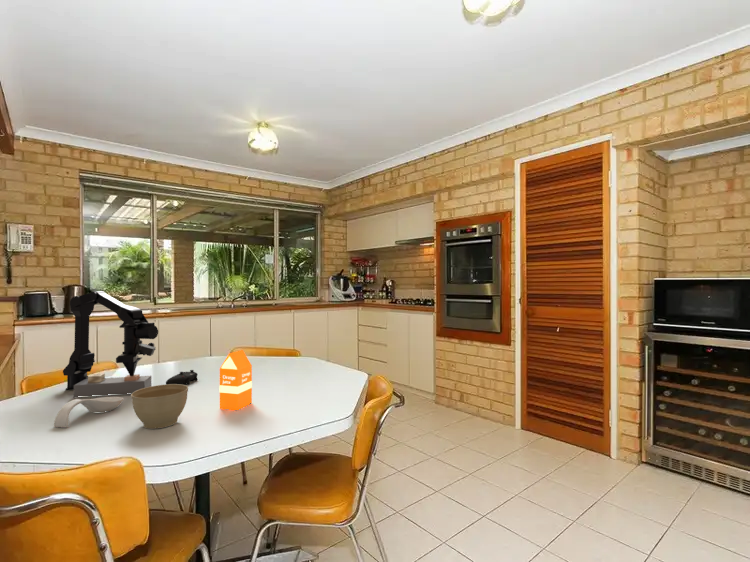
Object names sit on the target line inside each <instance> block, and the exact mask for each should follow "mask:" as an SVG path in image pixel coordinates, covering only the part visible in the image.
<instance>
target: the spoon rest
mask: <svg viewBox="0 0 750 562" xmlns="http://www.w3.org/2000/svg"><path fill="white" fill-rule="evenodd" d="M123 401H124V397H122V396H102V397H97V398H95V397H94V398H91V399H90V398H86V399H80V398H73V399H72V400H70V401H68V402H66V403H65V404H64V405H63V406H62V407H61V408H60V409H59V411H58V413H57V415H56V416H55V418H54V421H53V427H54V428H58V427H61V428H63V429H64V428H69V425H70V424H69V419H70V414H71V412H72V410H73V409H74V408H75V407H76V406H78V405H80V404H81V405H82V406H83V407H85V408H86V409H87V411H89V412H91V413H92V412H104V413H106V412H105V411H109V412H111V411H114V409H117V407H119V406H120V405H121V404H122V403H123ZM110 410H111V411H110Z"/></svg>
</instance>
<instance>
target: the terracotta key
mask: <svg viewBox="0 0 750 562" xmlns="http://www.w3.org/2000/svg"><path fill="white" fill-rule="evenodd" d="M140 376H141V374H134V376H130V375H129V374H127V375H126V376H123V377H124V381H132V380H138V379H139V378H140Z"/></svg>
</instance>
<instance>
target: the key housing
mask: <svg viewBox="0 0 750 562" xmlns="http://www.w3.org/2000/svg"><path fill="white" fill-rule="evenodd" d="M124 377H125V376H119V377H105V380H104V381H102V382H97V383H88V379H85V380H83V381H81V382H79V383H77V384H75V385H74V389H73V398H74V397H78V396H92V395H108V394H126V395H128V394H127V393H133V392H135V391H137V390H140V389H143V388H147V387H151V386H152V375H140V378H139V379H138V380H132V381H124Z"/></svg>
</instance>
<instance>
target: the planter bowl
mask: <svg viewBox="0 0 750 562" xmlns="http://www.w3.org/2000/svg"><path fill="white" fill-rule="evenodd" d="M188 392H189V386H188V385H184V384H167V385H166V384H158V385H151V387H147V388H143V389H140V390H137V391H135V392H133V393H132V394H130V397H131V398H130V399H131V402H132V403H131V404H132V409H133V411H134V414H135V416H136V417H137V419H138V420H139V421H140V422H141V423H142V424H143V428H145V429H148V430H149V429H151V430H152V429H153V430H155V429H161V428H162V429H163V428H167V427H171V426H173V425H175V424H176V423H177V422H178V421H179V419H178V418H179V417H180V416H181V414H182V413H183V411H184V409H185V407H186V404H187V400H188Z"/></svg>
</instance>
